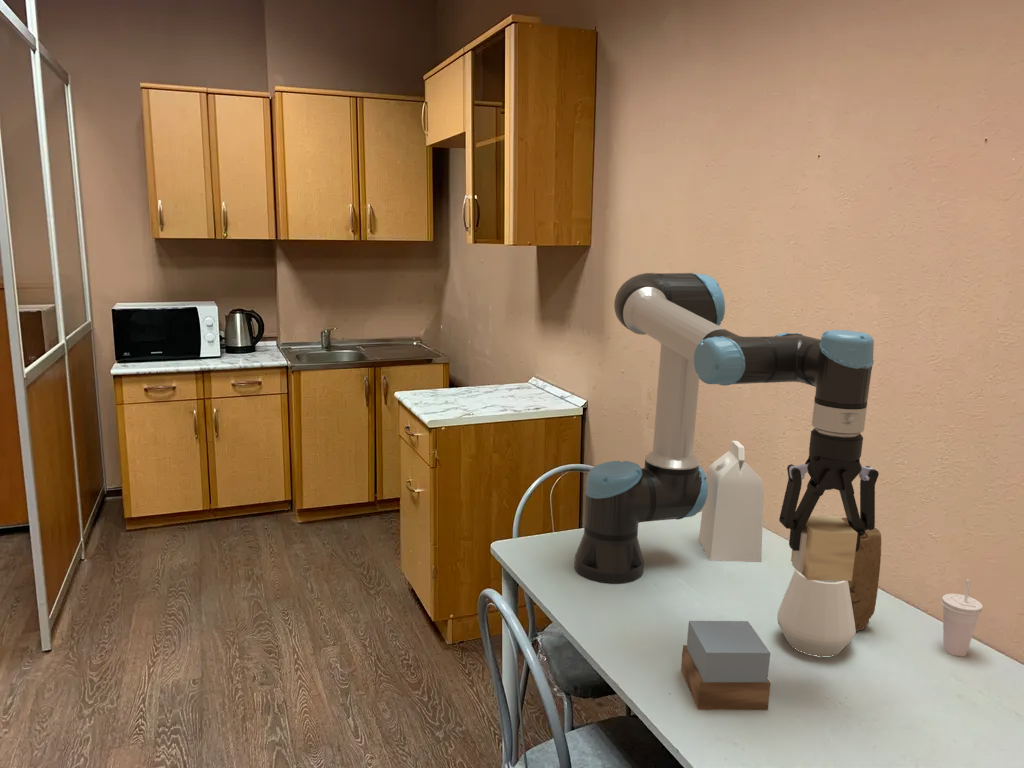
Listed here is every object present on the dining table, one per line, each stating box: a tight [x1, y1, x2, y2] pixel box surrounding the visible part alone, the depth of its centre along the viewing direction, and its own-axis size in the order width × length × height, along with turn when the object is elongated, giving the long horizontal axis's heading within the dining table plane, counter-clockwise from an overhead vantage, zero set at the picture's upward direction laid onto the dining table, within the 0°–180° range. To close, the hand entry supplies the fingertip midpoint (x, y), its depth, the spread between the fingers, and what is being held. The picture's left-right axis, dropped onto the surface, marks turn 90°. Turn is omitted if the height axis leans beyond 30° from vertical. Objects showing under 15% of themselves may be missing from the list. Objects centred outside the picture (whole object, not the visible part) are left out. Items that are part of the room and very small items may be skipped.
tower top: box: [686, 620, 771, 682], centre depth 124 cm, size 10×10×5 cm
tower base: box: [680, 644, 772, 711], centre depth 126 cm, size 11×11×5 cm
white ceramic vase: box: [776, 568, 857, 657], centre depth 140 cm, size 13×13×14 cm
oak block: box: [790, 515, 858, 581], centre depth 124 cm, size 7×7×8 cm
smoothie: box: [940, 578, 984, 657], centre depth 139 cm, size 6×6×14 cm
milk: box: [698, 440, 765, 563], centre depth 180 cm, size 12×12×26 cm
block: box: [840, 517, 882, 632], centre depth 148 cm, size 11×8×20 cm
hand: (821, 568), depth 125 cm, fingers closed on oak block, 7 cm apart
